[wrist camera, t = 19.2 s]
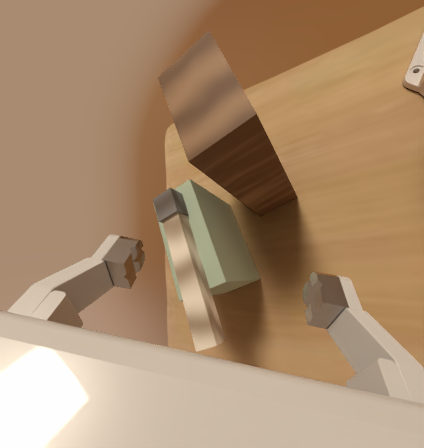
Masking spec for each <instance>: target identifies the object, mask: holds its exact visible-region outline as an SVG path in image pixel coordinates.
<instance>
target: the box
mask: <svg viewBox="0 0 424 448" xmlns="http://www.w3.org/2000/svg"><path fill="white" fill-rule="evenodd" d="M174 190H176V191H178V192H180V193H182V195H183V198H184V201H185V204H186V207H187V211H188V214H189V216H188V220H189V223H190V226H191V229H192V232H193V236H194V239H195V242H196V245H197V249H198V252H199V255H200V258H201V261H202V265H203V268H204V271H205V274H206V277H207V281H208V284H209V287H210V290H211V294H212V296H213V295H218V294H224V293H227V292H230V291H232V290H235V289H237V288H240V287H242V286H245V285H247V284H250V283H252V282H255V281H257V280H260V276H259V274H258V271H257V269H256V267H255V264H254V262H253V259H252V257H251V254H250V252H249V250H248V247H247V245H246V242H245V240H244V238H243V235H242V233H241V230H240V228H239V226H238V223H237V221H236V218H235V216H234V213H233V211H232V209H231V206H230V205H229V204H227V203H226V202H224V201H223V200H221V199H220V198H218V197H216V196H215V195H213V194H212V193H210V192H209V191H207V190H206V189H204V188H203V187H201V186H200V185H198V184H196V183H195V182H193V181H192V180H190V179H189V180H188V181H186V182H185V183H183V184H182V185H180V186H179V187H177V188H176V189H174ZM154 207H155V206H154ZM157 218H158V217H157ZM158 222H159V221H158ZM159 226H160V229H161V233H162V237H163V240H164V245H165V248H166V252H167V256H168V260H169V264H170V267H171V271H172V275H173V279H174V282H175V286H176V290H177V294H178V298H179V301H183V299H182V295H181V291H180V287H179V284H178V280H177V276H176V272H175V268H174V264H173V261H172V257H171V253H170V249H169V245H168V241H167V238H166V234H165V230H164V226H163V223H161V222H159Z"/></svg>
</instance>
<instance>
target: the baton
mask: <svg viewBox="0 0 424 448" xmlns="http://www.w3.org/2000/svg"><path fill="white" fill-rule="evenodd" d="M153 202H154V206H155V210H156V214H157V217H158V221H159V222H161V223H163V226H164V230H165V234H166V238H167V241H168V245H169V249H170V253H171V257H172V261H173V264H174V268H175V272H176V276H177V280H178V284H179V287H180V291H181V295H182V299H183V303H184V307H185V310H186V314H187V318H188V322H189V326H190V330H191V334H192V337H193V341H194V345H195V349H196V352H197V351H200V350H204V349H207V348H211V347H214V346H217V345H219V344H220V343H222V342H224V341H225V340H226V339H225V335H224V332H223V329H222V326H221V322H220V319H219V316H218V313H217V310H216V306H215V303H214V300H213V297H212V294H211V290H210V287H209V284H208V281H207V277H206V274H205V271H204V268H203V265H202V261H201V258H200V255H199V252H198V249H197V245H196V242H195V239H194V236H193V232H192V229H191V226H190V223H189V220H188V216H189V214H188V211H187V207H186V204H185V201H184V198H183V195H182V193H180V192H178V191H176V190H174V189H172V188H169V189H168V190H166V191H165V192H163V193H162V194H160V195H159V196H157V197H156V198H154V199H153Z"/></svg>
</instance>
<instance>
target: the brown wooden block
mask: <svg viewBox="0 0 424 448" xmlns="http://www.w3.org/2000/svg"><path fill="white" fill-rule="evenodd" d="M158 79H159V82H160V84H161V87H162V90H163V93H164V95H165V98H166V101H167V104H168V106H169V109H170V112H171V115H172V117H173V120H174V123H175V126H176V128H177V131H178V134H179V137H180V140H181V142H182V145H183V148H184V151H185V153H186V156H187V159H188V162H190V163H191V164H192V165H194V166H195V167H196V168H198V169H199V170H200V171H202V172H203V173H204V174H205V175H207V176H208V177H209V178H211V179H212V180H213V181H215V182H216V183H217V184H219V185H220V186H221V187H223V188H224V189H225V190H226V191H228V192H229V193H230V194H232V195H233V196H234V197H236V198H237V199H238V200H240V201H241V202H242V203H243V204H245V205H246V206H247V207H249V208H250V209H251V210H253V211H254V212H255V213H257V214H258V215H259V216H262V215H264V214H266V213H268V212H269V211H271V210H273V209H275V208H277V207H279V206H281V205H283V204H285V203H287V202H289V201H291V200H293V199H295V198H297V195H296V193H295V191H294V189H293V187H292V185H291V183H290V181H289V179H288V177H287V175H286V173H285V171H284V169H283V167H282V165H281V163H280V161H279V159H278V156H277V154H276V152H275V150H274V148H273V146H272V144H271V142H270V140H269V138H268V136H267V134H266V132H265V130H264V128H263V126H262V124H261V122H260V120H259V118H258V116H257V114H256V112H255V110H254V108H253V107H252V105H251V103H250V101H249V100H248V98H247V96H246V94H245V93H244V91H243V89H242V87H241V86H240V84H239V82H238V80H237V79H236V77H235V75H234V73H233V72H232V70H231V68H230V66H229V65H228V63H227V61H226V59H225V58H224V56H223V54H222V52H221V51H220V49H219V47H218V45H217V44H216V42H215V40H214V38H213V37H212V35H211V33H210V31H207V32H206V33H205V34H204V35H203V36H202V37H201V38H200V39H199V40H198V41H197V42H196V43H195V44H193V46H191V47H190V48H189V49H188V50H187V51H186V52H185V53H184V54H183V55H182V56H181V57H180V58H179V59H177V60H176V61H175V62H174V63H173V64H172V65H171V66H170V67H169V68H168V69H167V70H166V71H164V72H163V74H161V75H160V76H159V77H158Z"/></svg>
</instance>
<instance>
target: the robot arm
mask: <svg viewBox="0 0 424 448" xmlns="http://www.w3.org/2000/svg"><path fill="white" fill-rule="evenodd" d="M414 72H418V73H414ZM403 85H404V86H405V87H406V88H409V89H411V90H414V91H417V92H419V93H420V94H422V95H423V96H424V32H423V34H422V37H421V39H420V41H419V44H418V46H417V49H416V51H415V53H414V56H413V58H412V60H411V63H410V65H409V68H408V70H407V72H406V75H405V77H404V80H403ZM142 247H143V243H142V241H141V240H137V239H133V238H128V237H123V236H118V235H112V234H111V235H109V236H108V237H107V238H106V240H105V241H104V242H103V243H102V245H101V246H100V247H99V248H98V250H97V251H96V252H95V253H94V255H93V256H92V257H91V258H86V259H84V260H82V261H80V262H78V263H76V264H74V265H72V266H70V267H68V268H66V269H64V270H61V271H59V272H58V273H55V274H53V275H51V276H49V277H47V278H45V279H43V280H41V281H39V282H37V283H35V284H33V285H32V286H31V287H30V288H29V289H28V290H27V291H26V292H25V293H24V294H23V295H22V296H21V297H20V298H19V300H17V301H16V303H15V304H14V305H13V306H12V307H11V308H10V309H9V310H8V311H3V310H0V448H424V369H423V367H422V365H421V364H420V363H419V362H418V361H417V360H416V359H415V358H413V357H412V356H411V355H410V354H409V353H408V352H407V351H406V350H405V349H404V348H403V347H402V346H401V345H400V344H399V343H398V342H397V341H396V340H395V339H394V338H393V337H392V336H391V335H390V334H389V333H388V332H387V331H386V330H385V329H384V328H383V327H382V326H381V325H380V324H379V323H378V322H377V321H376V320H375V319H374V318H373V317H372V316H371V315H370V314H369V313H368V312H366V311H363V309H362V307H361V304H360V302H359V299H358V296H357V294H356V291H355V289H354V286H353V284H352V281H351V279H350V278H348V277H343V276H336V275H332V274H326V273H320V272H313V273H311V275H310V281H308V282H306V284H305V286H304V289H303V301H304V303H305V304H306V306H307V309H306V310H305V313H306V319H307V325H311V326H315V327H319V328H324V329H327V331H328V333H329V334H330V336H331V337H332V339H333V340H334V342H335V343H336V345H337V346H338V347H339V349H340V350H341V352H342V353H343V355H344V356H345V358H346V359H347V361H348V362H349V363H350V365H351V366H352V368H353V369H354V371H355V372H356V375H354V376H353V377H351V378H350V379H348V380H347V382H346V384H347V387H346V386H341V385H337V384H332V383H328V382H323V381H319V380H314V379H310V378H305V377H301V376H296V375H292V374H287V373H283V372H278V371H274V370H269V369H265V368H260V367H256V366H251V365H247V364H242V363H237V362H233V361H228V360H224V359H219V358H215V357H210V356H206V355H201V354H197V353H192V352H188V351H183V350H179V349H174V348H170V347H165V346H161V345H156V344H152V343H147V342H142V341H138V340H134V339H129V338H124V337H120V336H115V335H111V334H107V333H101V332H98V331H93V330H88V329H84V328H81V327H82V325H83V322H82V320H81V318H80V317H79V315H78V313H79V312H80V311H82V310H83V309H84V308H86V307H87V306H88V305H90V304H91V303H93V302H94V301H95V300H97V299H98V298H99V297H101V296H102V295H103V294H105V293H106V292H107V291H109V290H110V289H111V288H113V286H117V287H122V288H128V289H131V287H132V285H133V283H134V281H135V280H136V273H137V272H139V271H140V270H141V268H142V266H143V264H144V260H145V254H144V251H143V250H142Z"/></svg>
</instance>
